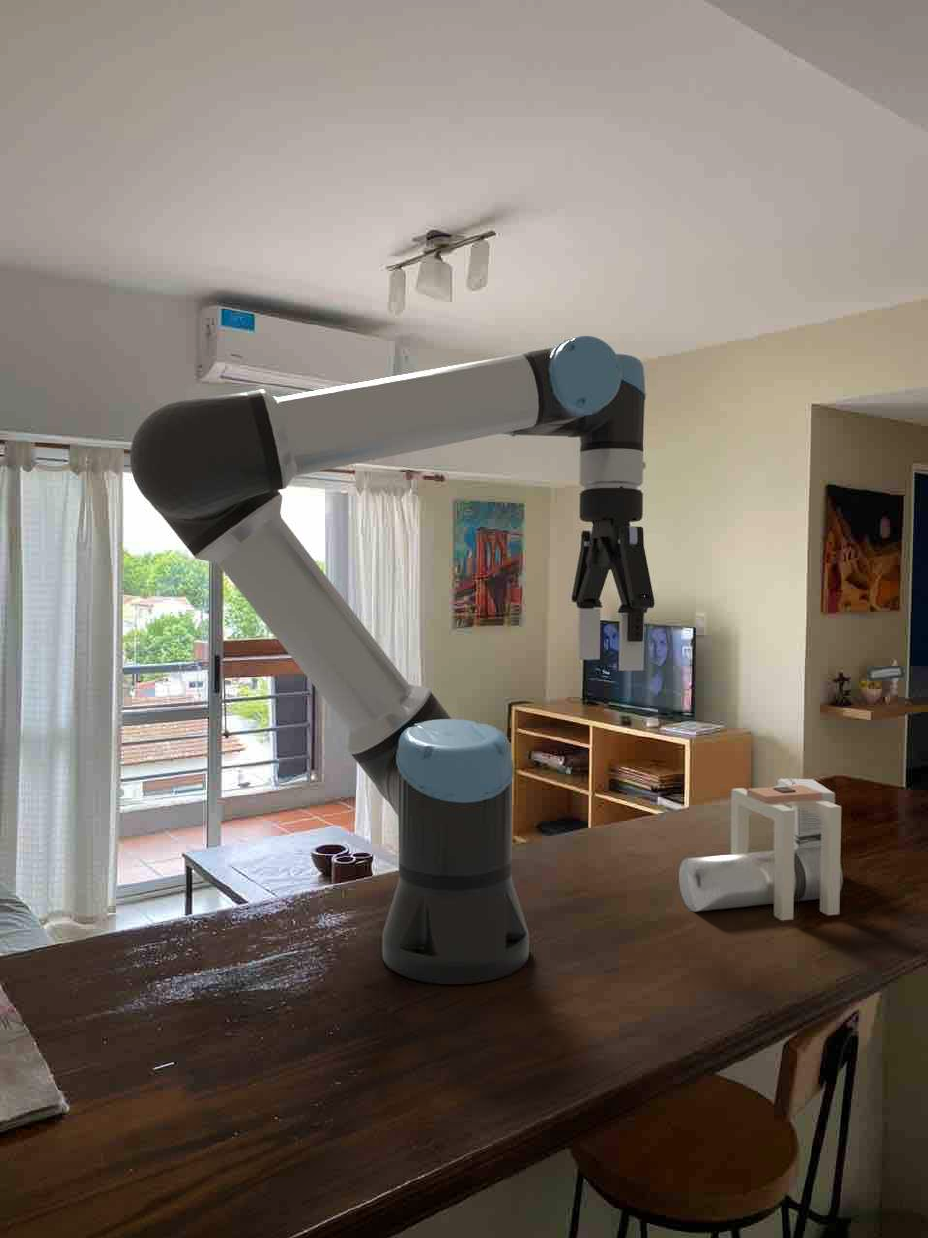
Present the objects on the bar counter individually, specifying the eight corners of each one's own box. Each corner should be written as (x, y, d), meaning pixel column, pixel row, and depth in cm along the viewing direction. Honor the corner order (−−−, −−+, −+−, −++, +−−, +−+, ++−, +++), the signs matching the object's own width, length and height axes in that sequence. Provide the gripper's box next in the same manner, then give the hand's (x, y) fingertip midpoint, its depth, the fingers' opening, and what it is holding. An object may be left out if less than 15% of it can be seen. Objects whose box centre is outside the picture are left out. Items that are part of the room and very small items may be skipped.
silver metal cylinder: (701, 921, 107) (705, 871, 106) (677, 897, 112) (680, 849, 111) (840, 907, 111) (845, 858, 110) (810, 884, 117) (814, 838, 116)
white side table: (781, 920, 106) (783, 802, 105) (730, 888, 116) (731, 780, 116) (839, 914, 108) (841, 798, 107) (783, 883, 118) (785, 777, 118)
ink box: (836, 885, 118) (838, 792, 117) (796, 885, 118) (798, 792, 117) (812, 864, 126) (814, 777, 126) (775, 863, 126) (776, 777, 126)
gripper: (687, 479, 101) (683, 675, 103) (602, 497, 126) (600, 654, 127) (622, 477, 100) (619, 676, 101) (548, 495, 124) (547, 655, 125)
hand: (608, 664), depth 114 cm, fingers open, 13 cm apart
